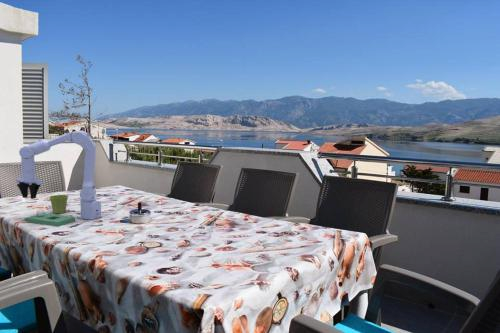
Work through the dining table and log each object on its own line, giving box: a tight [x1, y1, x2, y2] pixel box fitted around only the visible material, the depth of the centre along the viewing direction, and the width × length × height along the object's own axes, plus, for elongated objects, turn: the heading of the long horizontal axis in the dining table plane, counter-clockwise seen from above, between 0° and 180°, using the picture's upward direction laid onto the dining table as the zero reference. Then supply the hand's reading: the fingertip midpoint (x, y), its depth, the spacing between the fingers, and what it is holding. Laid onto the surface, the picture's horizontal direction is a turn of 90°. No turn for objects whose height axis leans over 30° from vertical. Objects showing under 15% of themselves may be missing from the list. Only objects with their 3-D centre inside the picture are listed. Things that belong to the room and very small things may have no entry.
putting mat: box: [24, 213, 76, 227], centre depth 191 cm, size 20×11×2 cm, turn 71°
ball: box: [36, 208, 45, 216], centre depth 193 cm, size 4×4×4 cm
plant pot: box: [48, 194, 69, 214], centre depth 210 cm, size 9×9×9 cm
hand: (29, 198), depth 194 cm, fingers open, 5 cm apart
